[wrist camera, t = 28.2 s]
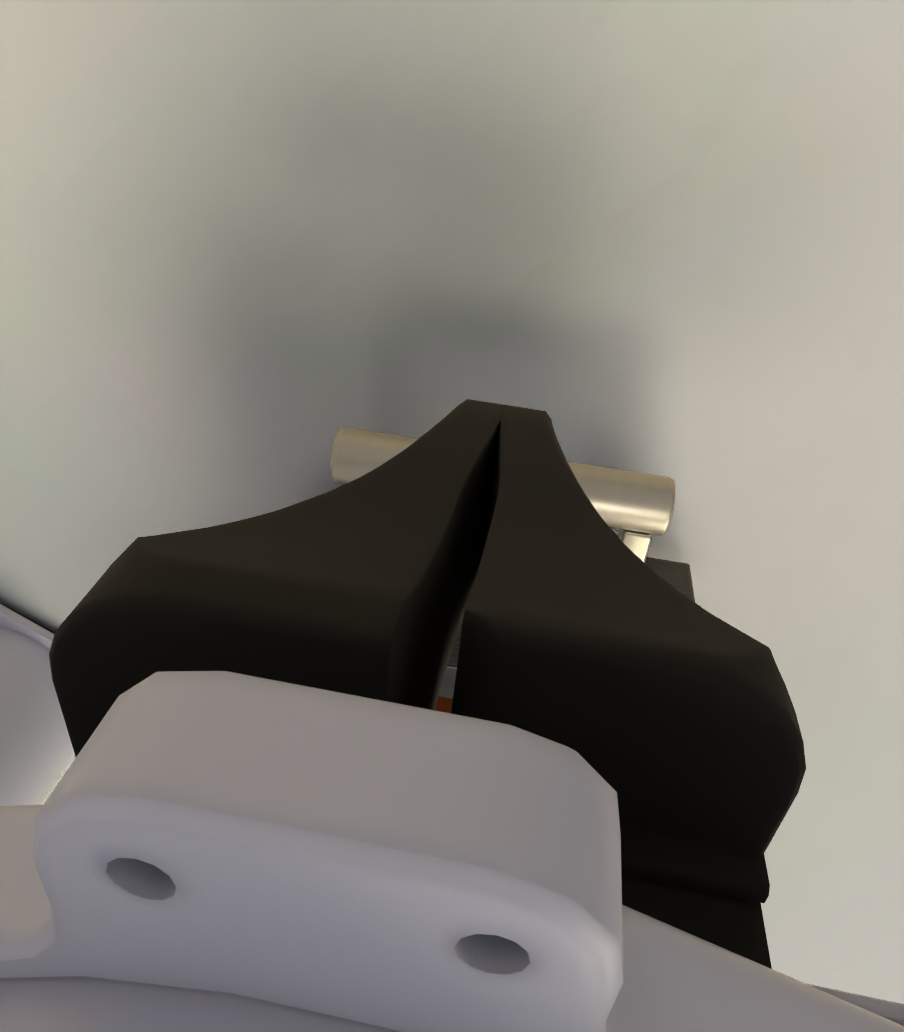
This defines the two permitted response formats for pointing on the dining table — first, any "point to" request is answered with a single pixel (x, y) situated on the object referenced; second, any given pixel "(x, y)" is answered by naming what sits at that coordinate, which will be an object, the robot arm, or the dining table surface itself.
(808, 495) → the dining table surface
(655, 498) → the drawer
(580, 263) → the dining table surface
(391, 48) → the dining table surface
